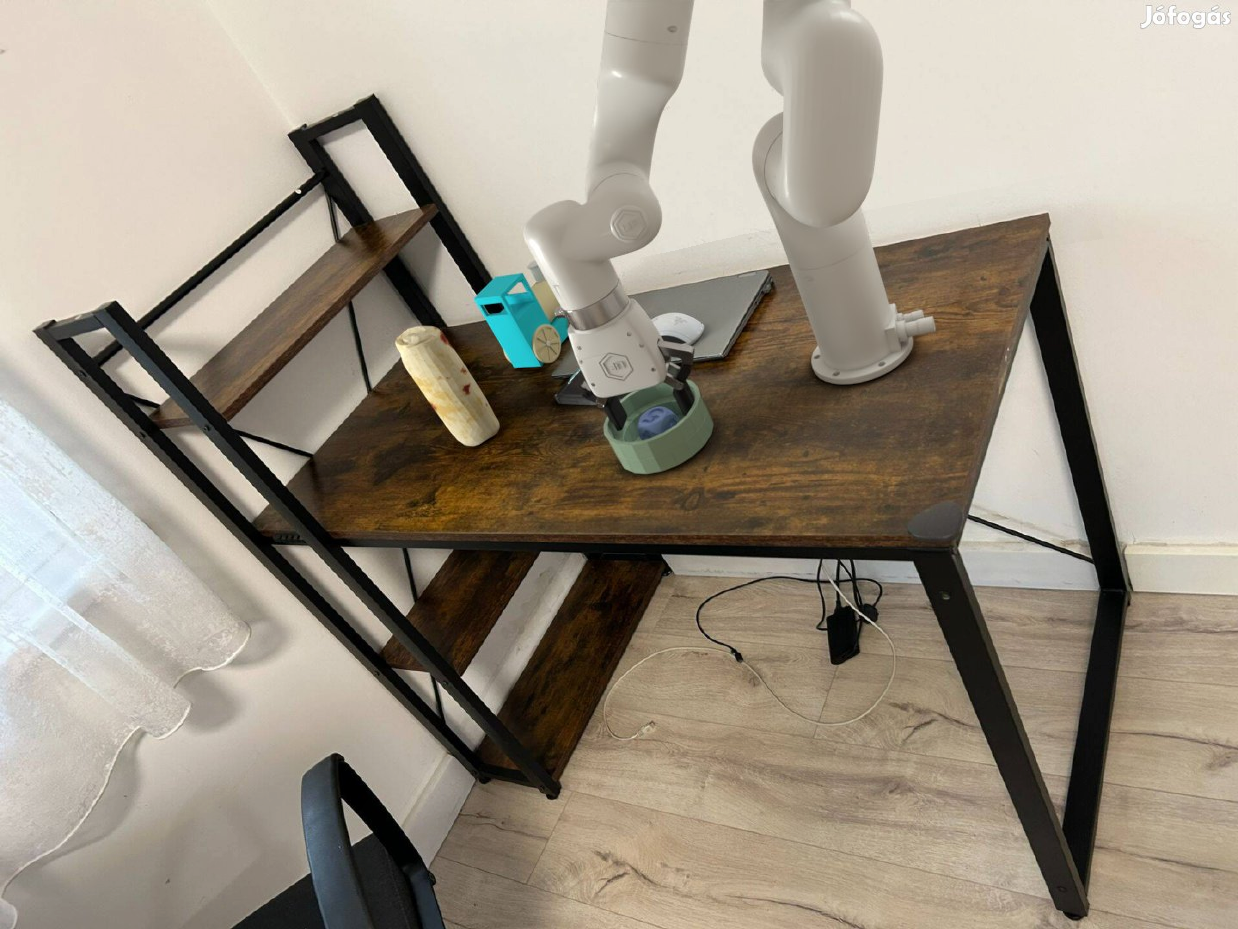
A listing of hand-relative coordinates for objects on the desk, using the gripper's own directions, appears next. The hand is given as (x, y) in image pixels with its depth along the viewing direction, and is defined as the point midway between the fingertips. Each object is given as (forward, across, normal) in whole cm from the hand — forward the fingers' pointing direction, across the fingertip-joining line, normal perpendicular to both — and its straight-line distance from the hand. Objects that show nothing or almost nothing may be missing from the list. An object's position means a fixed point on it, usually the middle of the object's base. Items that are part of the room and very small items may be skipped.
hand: (655, 416), depth 112 cm
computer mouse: (+5, -8, +27) cm, 29 cm away
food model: (+4, -35, +11) cm, 37 cm away
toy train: (+4, -29, +35) cm, 46 cm away
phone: (+4, -14, +16) cm, 22 cm away
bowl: (+4, 0, 0) cm, 4 cm away
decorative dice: (+4, 0, 0) cm, 4 cm away
